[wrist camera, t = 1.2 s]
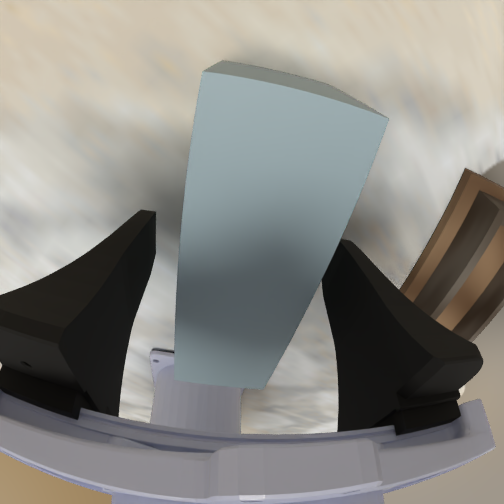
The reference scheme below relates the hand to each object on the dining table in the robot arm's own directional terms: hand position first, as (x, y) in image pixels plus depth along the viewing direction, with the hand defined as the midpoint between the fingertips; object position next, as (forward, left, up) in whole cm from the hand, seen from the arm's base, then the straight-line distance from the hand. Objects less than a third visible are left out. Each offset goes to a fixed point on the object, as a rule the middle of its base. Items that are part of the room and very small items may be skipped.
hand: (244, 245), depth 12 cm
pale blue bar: (0, 0, -3) cm, 3 cm away
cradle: (-4, -16, -3) cm, 17 cm away
